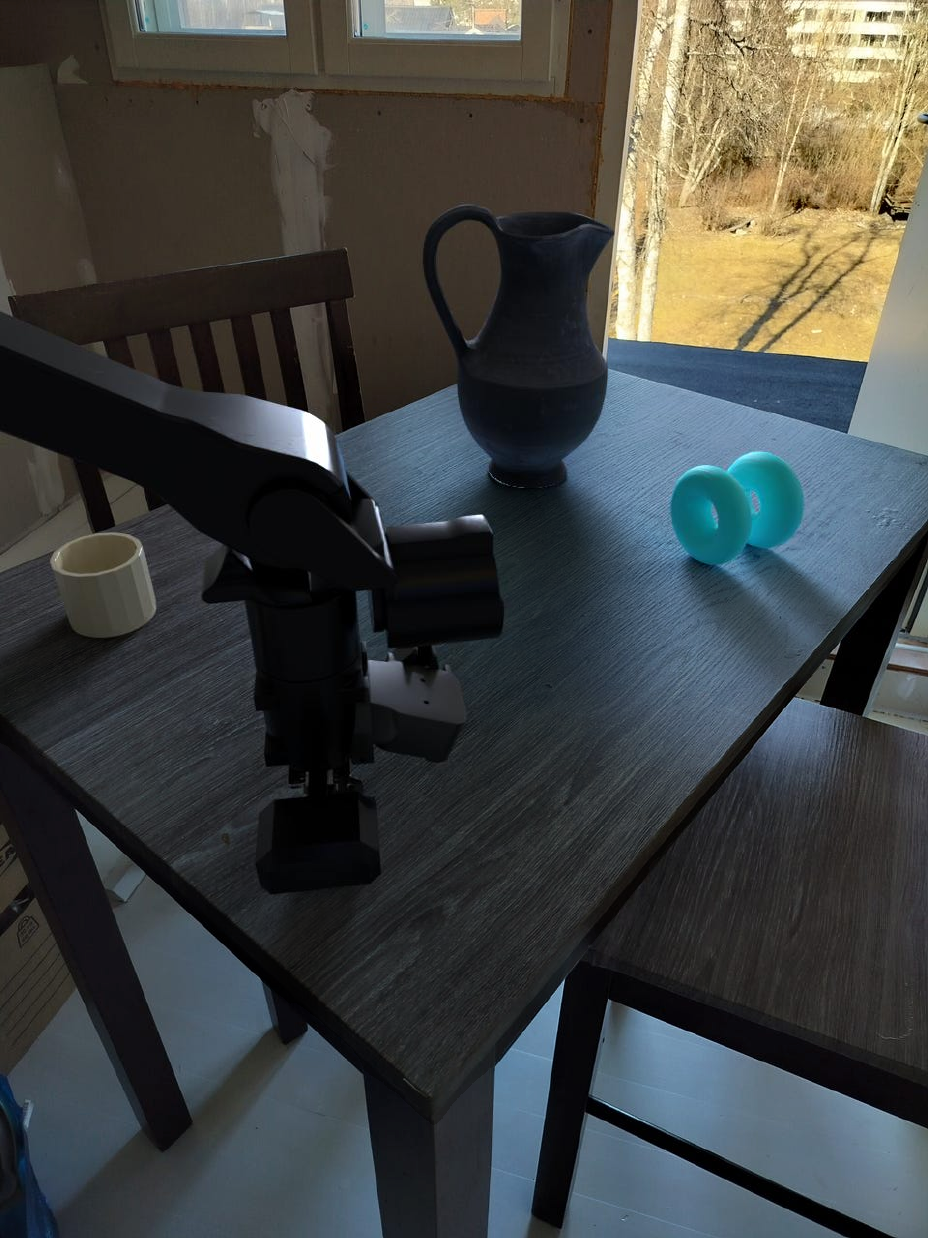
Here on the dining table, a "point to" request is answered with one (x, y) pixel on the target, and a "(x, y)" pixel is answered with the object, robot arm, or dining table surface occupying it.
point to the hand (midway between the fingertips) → (331, 842)
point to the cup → (104, 584)
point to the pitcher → (529, 343)
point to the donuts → (736, 507)
